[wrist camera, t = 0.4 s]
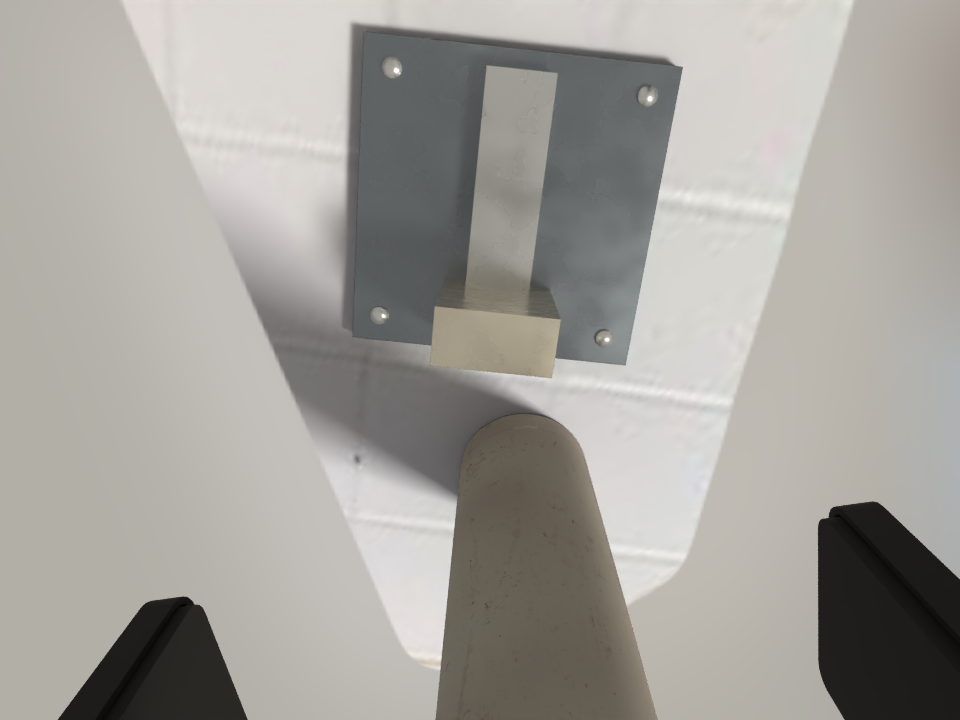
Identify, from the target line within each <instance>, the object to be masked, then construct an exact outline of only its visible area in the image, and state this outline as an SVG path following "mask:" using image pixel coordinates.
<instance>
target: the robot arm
mask: <svg viewBox="0 0 960 720" xmlns="http://www.w3.org/2000/svg"><path fill="white" fill-rule="evenodd" d="M818 637H819V638H818V642H819V643H818V651H819V652H818V655H819V657H818V661H819V669H820V673H821V677H822V680H823V682H824V685H825V687H826V689H827V691H828V693H829V694H830V696H831V697H832V699H833V701H834V703H835V704H836V706H837V707H838V709H839V711H840V713H841V714H842V716H843V718H844V719H845V720H960V579H959V578H958V577H956V575H954V574H953V573H952V572H951V571H950V570H949V569H948V568H947V567H946V566H945V565H944V564H943V563H942V562H941V561H940V560H939V559H937V557H936V556H935V555H933V554H932V553H931V552H930V551H929V550H928V549H927V548H926V547H925V546H924V545H923V544H922V543H921V542H920V541H919V540H918V539H917V538H915V536H914V535H913V534H912V533H910V532H909V531H908V530H907V529H906V528H905V527H904V526H903V525H902V524H901V523H900V522H899V521H898V520H897V519H896V518H895V517H894V516H892V514H891V513H890V512H888V511H887V510H886V509H885V508H884V507H883V506H882V505H880V504H879V503H878V502H865V503H858V504H851V505H843V506H836V507H833V508H832V509H831V510H830V513H829V518H826V519H821V520H820V522H819V525H818ZM58 720H247V717H246V714H245V712H244V710H243V707H242V704H241V702H240V699H239V697H238V695H237V692H236V689H235V687H234V684H233V682H232V679H231V677H230V674H229V672H228V669H227V666H226V664H225V661H224V659H223V656H222V654H221V652H220V649H219V646H218V644H217V641H216V639H215V636H214V634H213V631H212V629H211V626H210V624H209V621H208V618H207V616H206V613H205V611H204V609H203V608H202V607H201V606H200V605H194V603H193V601H192V600H191V599H189V598H188V597H176V598H169V599H163V600H155V601H150V602H147V603H145V604H144V605H143V606H142V607H141V608H140V610H139V611H138V613H137V614H136V615H135V617H134V618H133V619H132V621H131V622H130V623H129V625H128V626H127V627H126V629H125V630H124V631H123V633H122V634H121V635H120V637H119V638H118V639H117V641H116V642H115V643H114V645H113V646H112V648H111V649H110V650H109V652H108V653H107V654H106V656H105V657H104V659H103V660H102V661H101V662H100V664H99V665H98V667H97V668H96V669H95V670H94V672H93V673H92V674H91V676H90V677H89V679H88V680H87V681H86V683H85V684H84V685H83V687H82V688H81V689H80V691H79V692H78V693H77V695H76V696H75V697H74V699H73V700H72V701H71V703H70V704H69V706H68V707H67V708H66V709H65V711H64V712H63V713H62V715H61V716H60V717H59V719H58Z"/></svg>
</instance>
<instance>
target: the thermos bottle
mask: <svg viewBox="0 0 960 720" xmlns="http://www.w3.org/2000/svg"><path fill="white" fill-rule="evenodd" d="M436 720H658V719H657V715H656V712H655V708H654V705H653V701H652V698H651V694H650V690H649V687H648V683H647V679H646V676H645V672H644V668H643V665H642V661H641V657H640V653H639V650H638V646H637V642H636V639H635V635H634V632H633V628H632V625H631V621H630V617H629V614H628V610H627V607H626V603H625V599H624V596H623V592H622V589H621V585H620V582H619V578H618V574H617V571H616V567H615V564H614V560H613V557H612V553H611V549H610V546H609V542H608V539H607V535H606V532H605V528H604V524H603V521H602V517H601V514H600V510H599V507H598V503H597V499H596V496H595V492H594V489H593V485H592V482H591V478H590V474H589V471H588V467H587V464H586V460H585V457H584V453H583V451H582V449H581V447H580V444H579V443H578V441H577V440H576V439H575V437H574V436H573V435H572V433H570V432H569V431H568V430H567V429H566V428H565V427H564V426H562V425H560V424H559V423H557V422H555V421H554V420H551V419H548V418H546V417H543V416H539V415H532V414H514V415H509V416H505V417H502V418H499V419H497V420H494V421H492V422H490V423H489V424H487V425H486V426H484V427H483V428H481V429H480V430H479V431H478V432H477V433H476V434H475V435H474V436H473V437H472V439H471V440H470V442H469V443H468V445H467V446H466V449H465V451H464V454H463V456H462V462H461V468H460V477H459V487H458V498H457V508H456V518H455V528H454V538H453V549H452V559H451V569H450V579H449V589H448V599H447V610H446V620H445V630H444V640H443V650H442V660H441V671H440V682H439V691H438V701H437V711H436Z"/></svg>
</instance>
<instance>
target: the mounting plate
mask: <svg viewBox="0 0 960 720" xmlns="http://www.w3.org/2000/svg"><path fill="white" fill-rule="evenodd" d="M682 69H683V67H679V66H670V65H661V64H652V63H643V62H634V61H625V60H616V59H607V58H598V57H589V56H580V55H571V54H562V53H553V52H544V51H535V50H526V49H517V48H508V47H499V46H490V45H481V44H472V43H463V42H454V41H445V40H436V39H427V38H418V37H409V36H400V35H391V34H382V33H373V32H364V37H363V65H362V92H361V120H360V147H359V175H358V203H357V230H356V258H355V285H354V313H353V337H356V338H366V339H375V340H385V341H395V342H404V343H414V344H424V345H432V347H431V359H430V366H439V367H448V368H458V369H468V370H477V371H487V372H497V373H507V374H516V375H526V376H536V377H545V378H552V375H553V368H554V361H555V358H559V359H569V360H578V361H588V362H598V363H607V364H617V365H626V360H627V355H628V350H629V345H630V340H631V334H632V329H633V324H634V319H635V314H636V308H637V303H638V298H639V293H640V288H641V282H642V277H643V272H644V267H645V261H646V256H647V251H648V246H649V241H650V235H651V230H652V225H653V220H654V215H655V209H656V204H657V199H658V194H659V189H660V183H661V178H662V173H663V168H664V163H665V157H666V152H667V147H668V142H669V136H670V131H671V126H672V121H673V116H674V110H675V105H676V100H677V95H678V90H679V84H680V79H681V74H682Z"/></svg>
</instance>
